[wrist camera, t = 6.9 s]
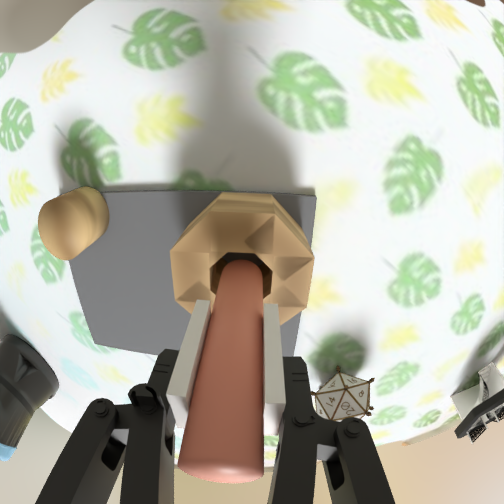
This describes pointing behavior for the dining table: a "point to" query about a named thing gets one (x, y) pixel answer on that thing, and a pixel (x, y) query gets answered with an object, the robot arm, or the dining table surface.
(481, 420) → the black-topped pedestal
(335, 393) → the game die
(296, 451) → the robot arm
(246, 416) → the pink rounded cylinder
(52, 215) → the loose tan rounded knob
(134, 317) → the mat
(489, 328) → the dining table surface
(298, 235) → the bead
